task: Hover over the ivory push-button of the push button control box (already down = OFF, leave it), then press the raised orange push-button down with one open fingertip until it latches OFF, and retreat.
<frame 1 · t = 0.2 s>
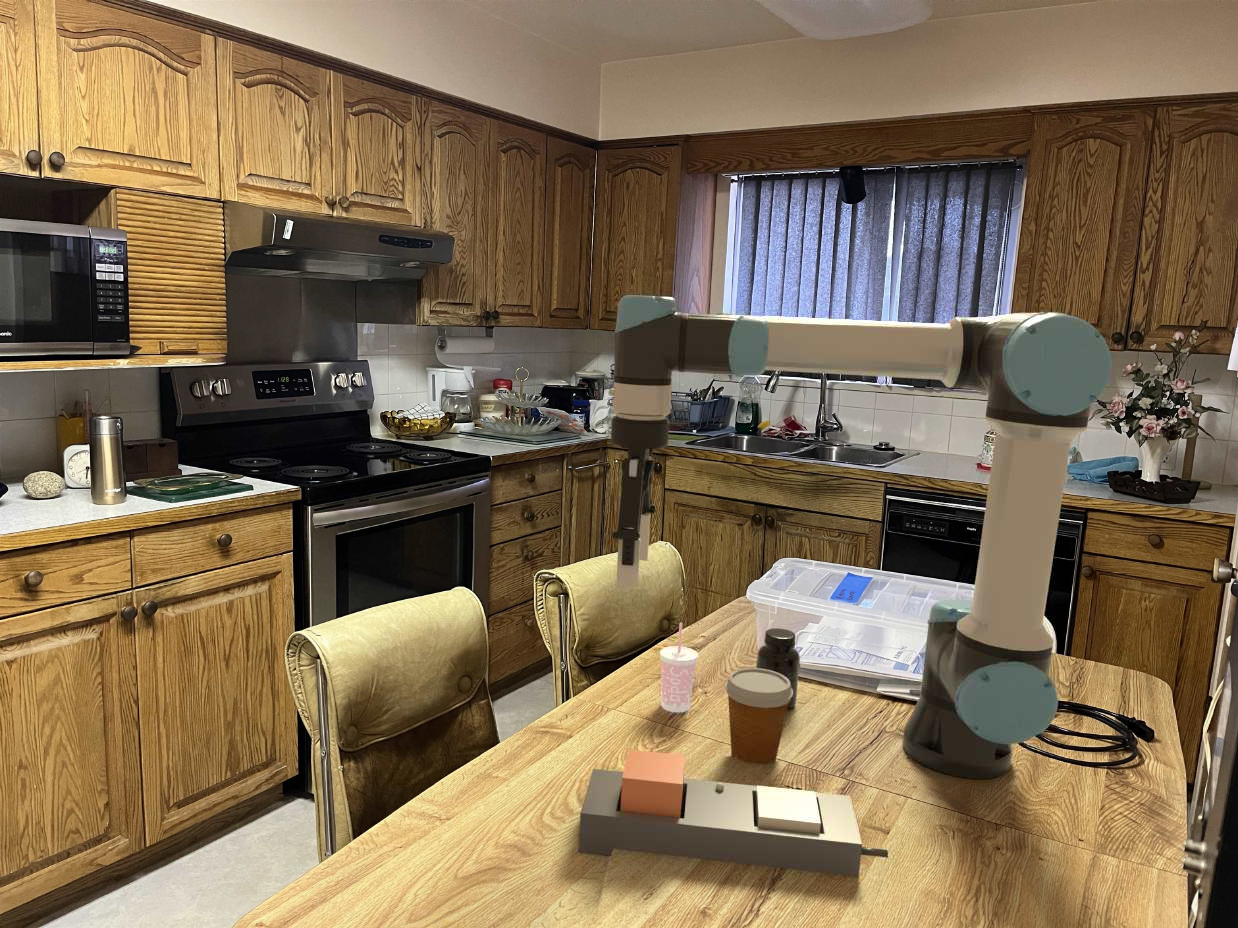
hand: (632, 573, 123), 28 cm above the table, fingers open, 13 cm apart
supplement bottle: (774, 703, 151), on the table
button orange: (653, 785, 110), point 6 cm above the table, slide at 0.0 cm
beverage cup: (675, 707, 148), on the table
disposable coffee cup: (753, 759, 132), on the table
button ivory: (786, 822, 109), point 3 cm above the table, slide at 3.0 cm
push button control box: (716, 842, 111), on the table
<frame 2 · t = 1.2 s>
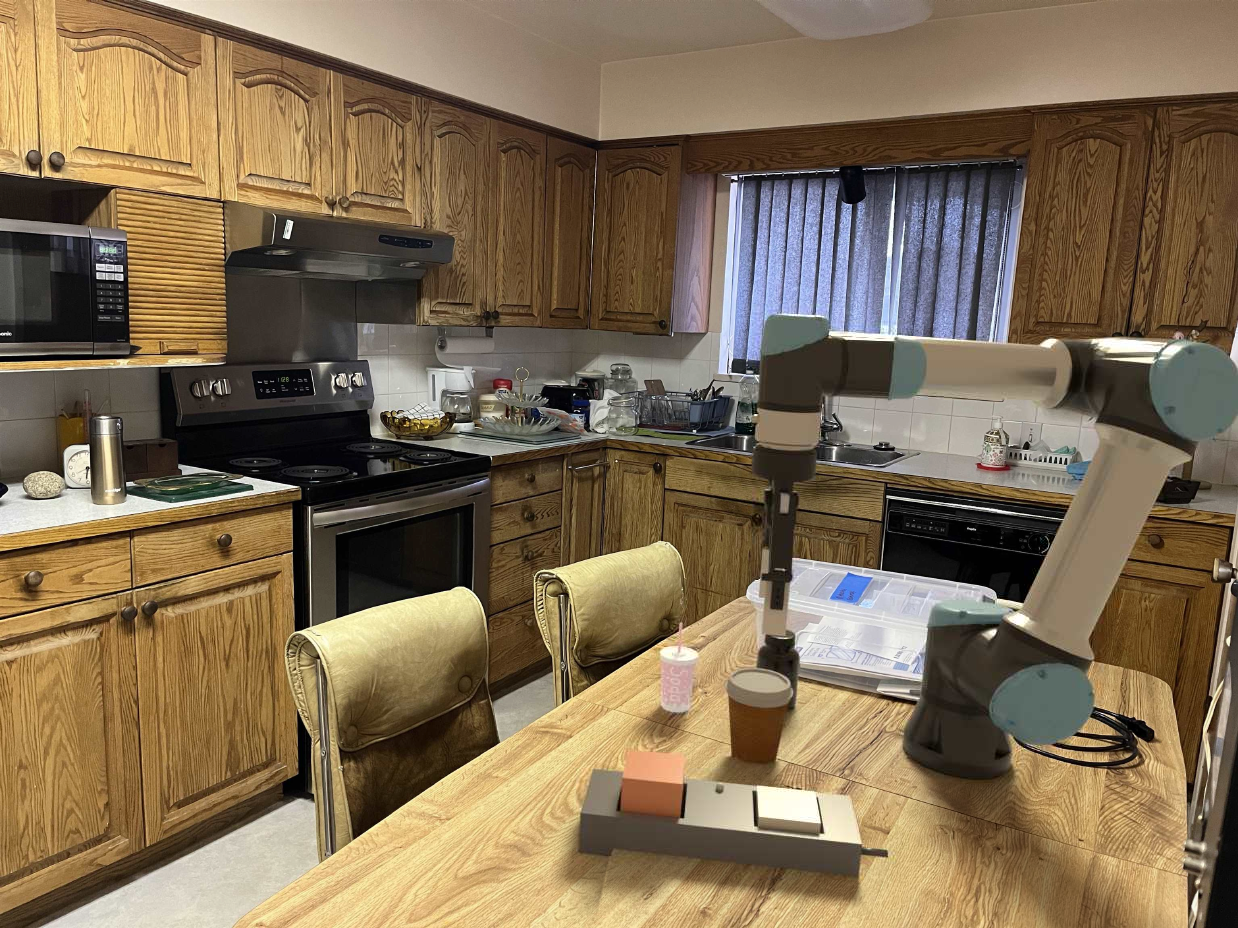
hand: (771, 615, 113), 26 cm above the table, fingers open, 13 cm apart
nothing on the table moved.
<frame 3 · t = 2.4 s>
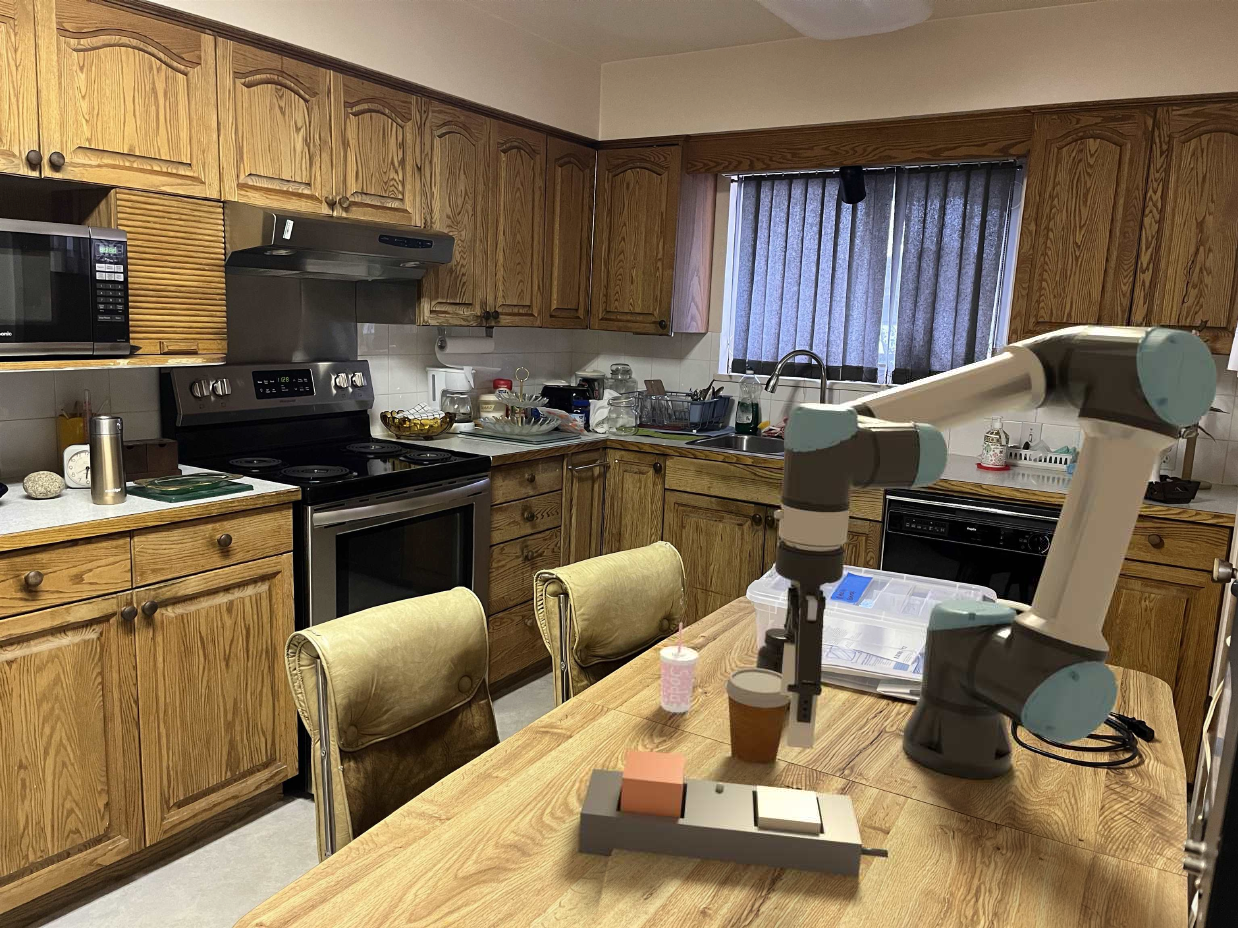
hand: (795, 718, 107), 17 cm above the table, fingers open, 13 cm apart
nothing on the table moved.
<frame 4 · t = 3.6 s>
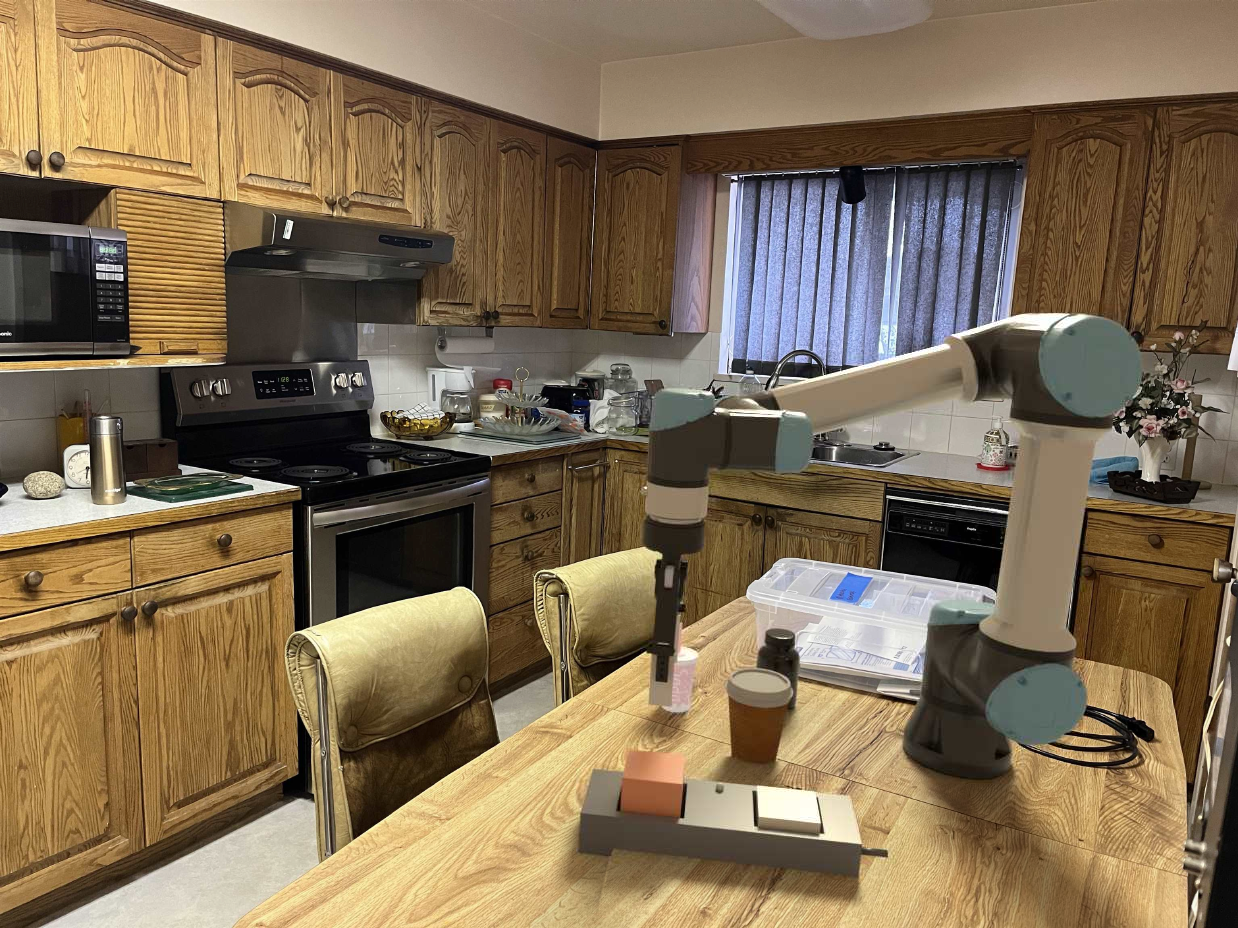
hand: (663, 681, 115), 17 cm above the table, fingers open, 13 cm apart
nothing on the table moved.
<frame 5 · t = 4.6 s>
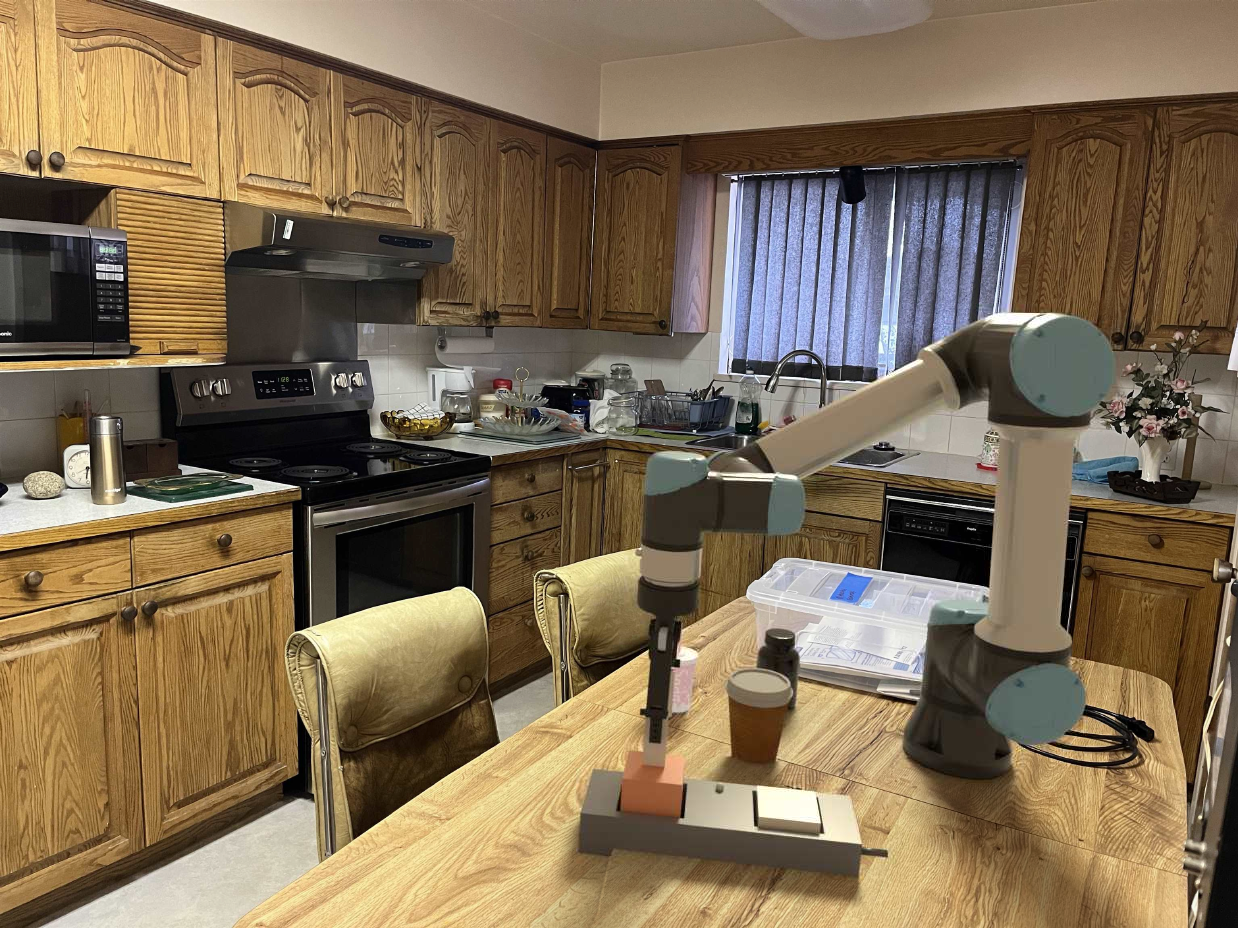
hand: (657, 738, 117), 9 cm above the table, fingers open, 13 cm apart
button orange: (653, 785, 110), point 6 cm above the table, slide at 0.1 cm, touching gripper
everything else where it was.
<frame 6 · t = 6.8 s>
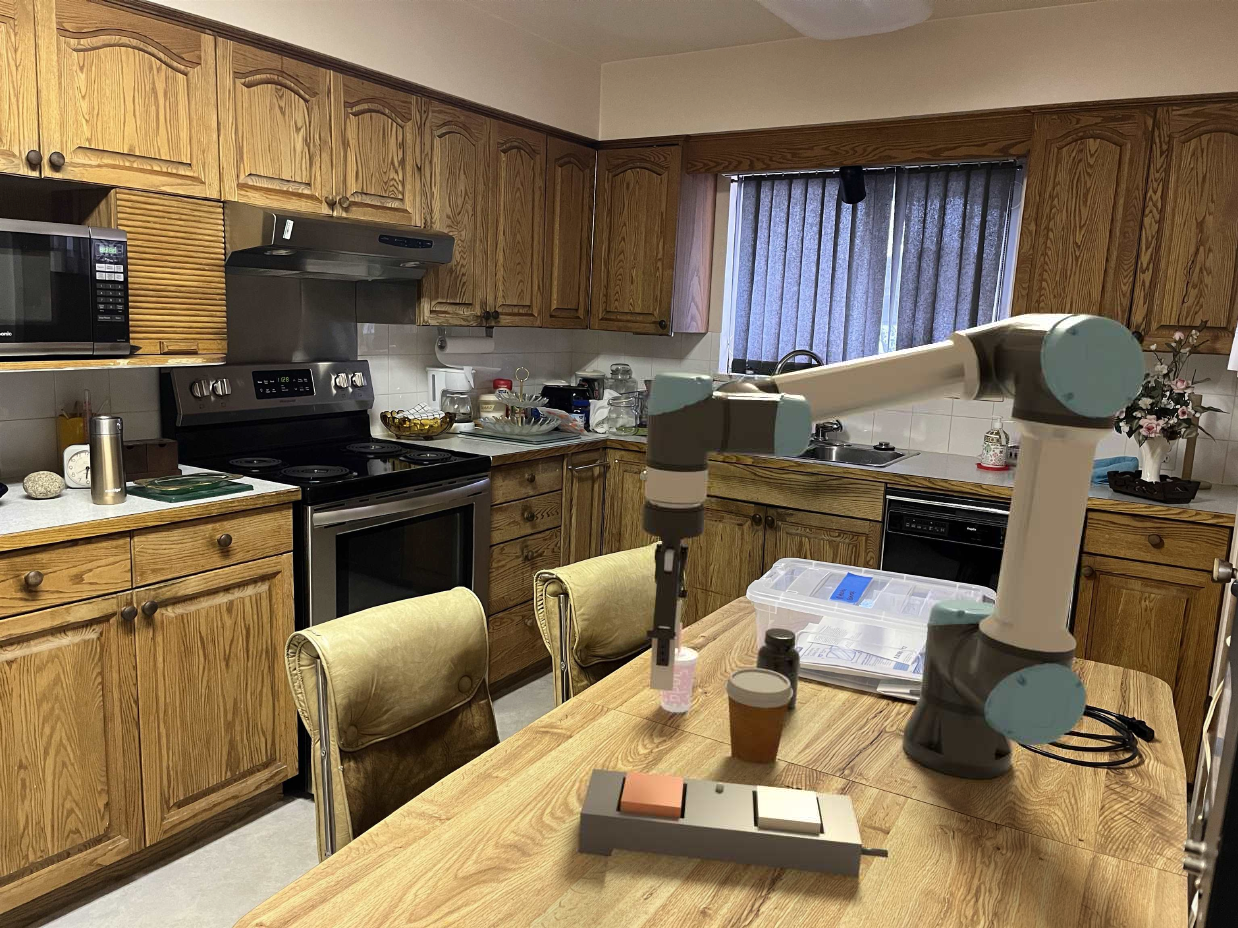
hand: (665, 666, 115), 19 cm above the table, fingers open, 13 cm apart
button orange: (652, 807, 111), point 4 cm above the table, slide at 2.9 cm
everything else where it was.
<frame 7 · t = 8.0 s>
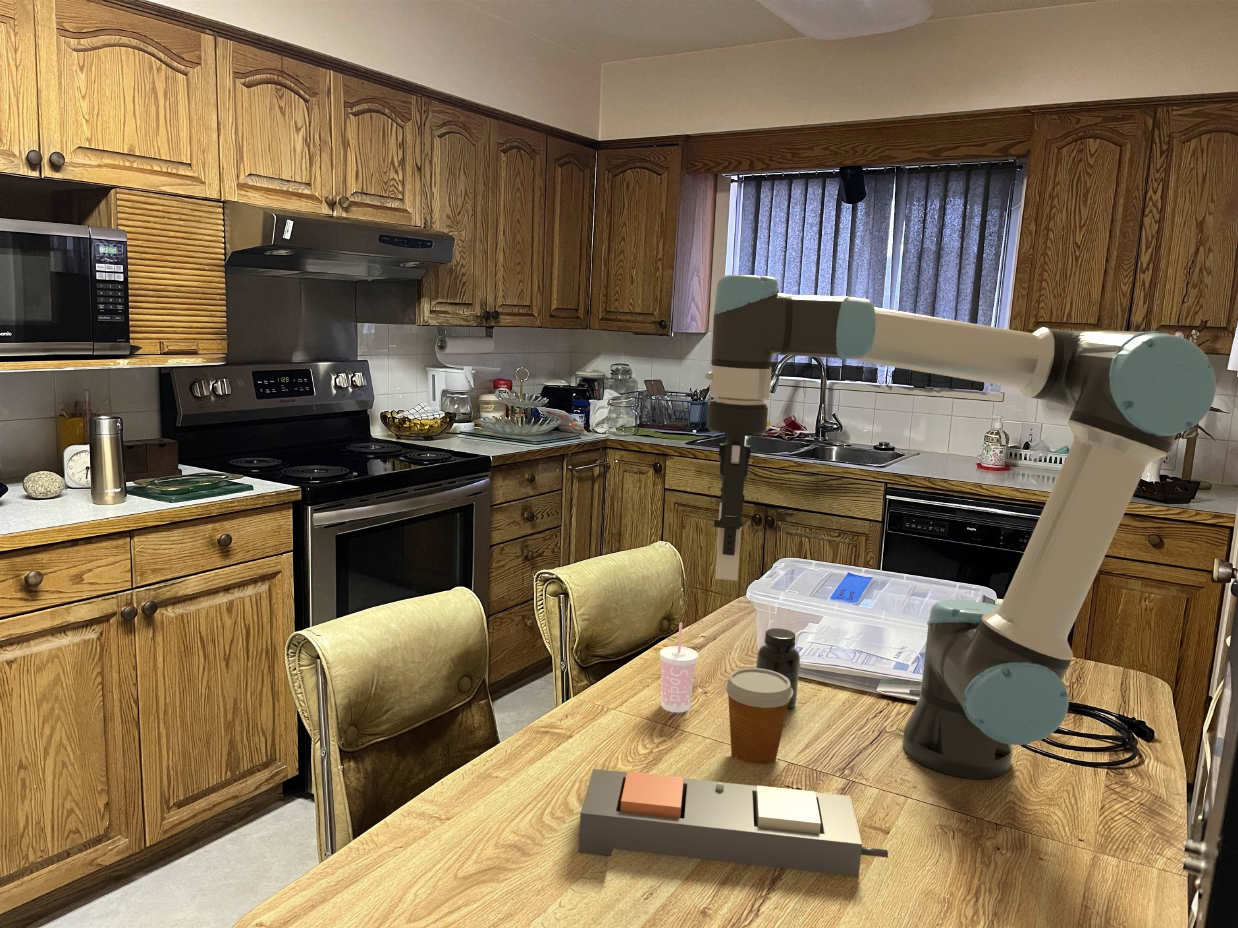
hand: (726, 563, 119), 31 cm above the table, fingers open, 13 cm apart
nothing on the table moved.
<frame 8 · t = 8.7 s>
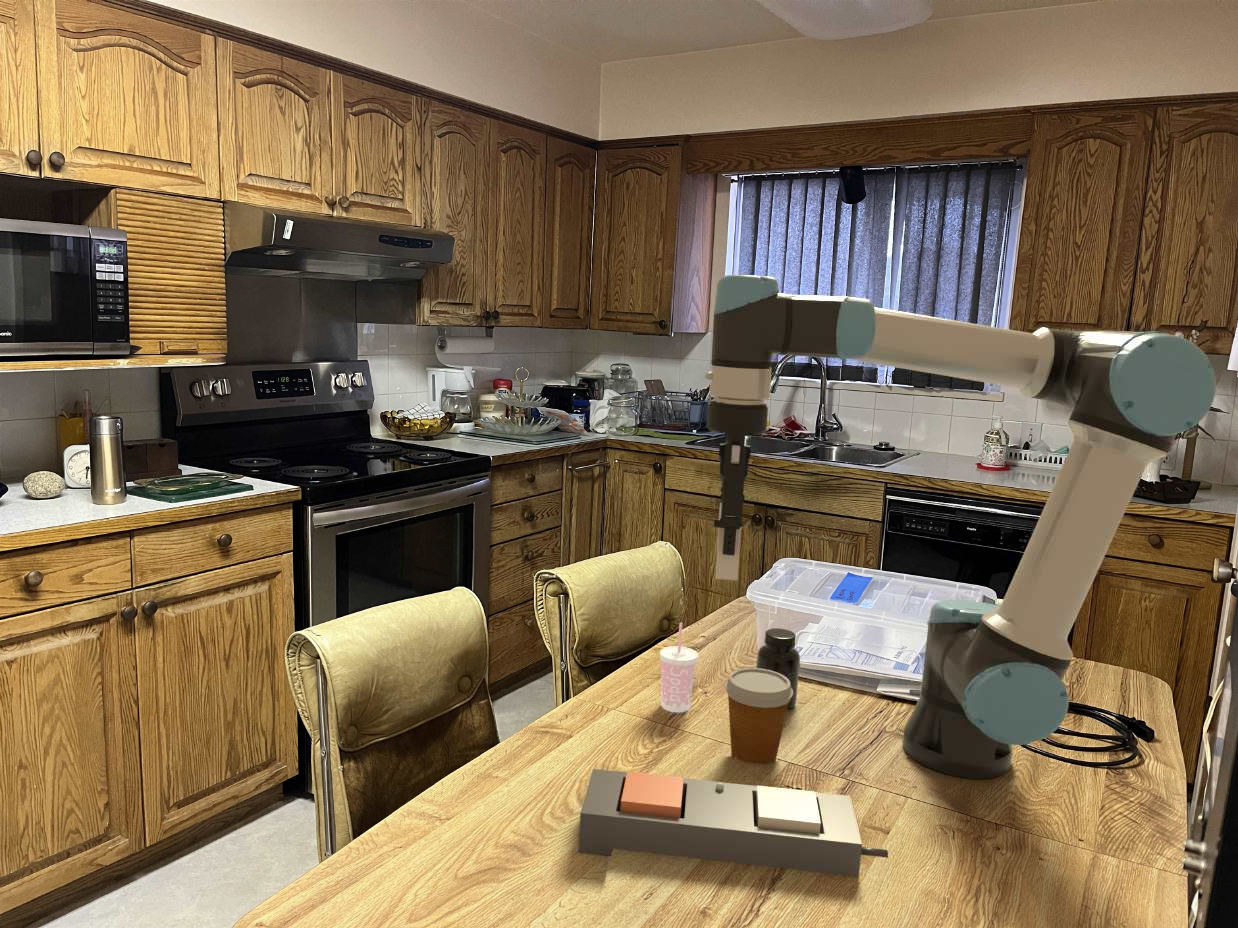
hand: (726, 563, 119), 31 cm above the table, fingers open, 13 cm apart
nothing on the table moved.
at the end: button orange slide at 2.9 cm; button ivory slide at 3.0 cm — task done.
